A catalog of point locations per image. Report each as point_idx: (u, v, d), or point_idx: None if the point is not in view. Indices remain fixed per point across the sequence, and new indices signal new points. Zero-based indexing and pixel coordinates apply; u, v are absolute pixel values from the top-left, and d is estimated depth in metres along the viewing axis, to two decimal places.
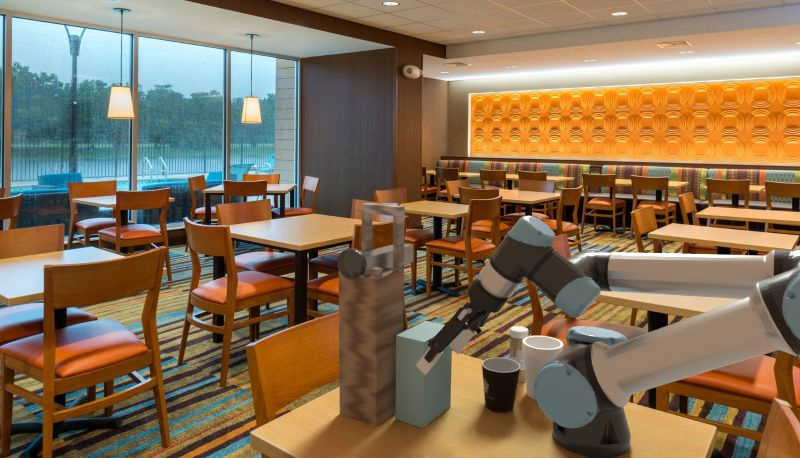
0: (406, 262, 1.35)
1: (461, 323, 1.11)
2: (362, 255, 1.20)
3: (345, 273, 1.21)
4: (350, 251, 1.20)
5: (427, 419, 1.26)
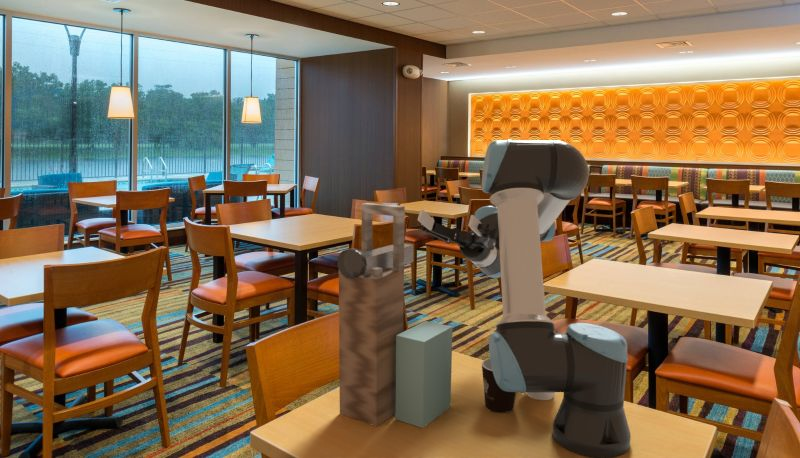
0: (406, 262, 1.35)
1: None
2: (362, 255, 1.20)
3: (345, 273, 1.21)
4: (350, 251, 1.20)
5: (427, 419, 1.26)
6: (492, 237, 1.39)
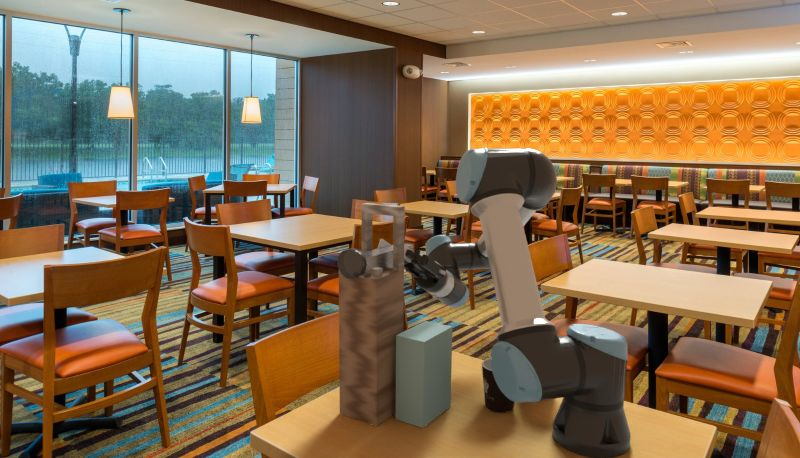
0: (406, 262, 1.35)
1: None
2: (362, 255, 1.20)
3: (345, 273, 1.21)
4: (350, 251, 1.20)
5: (427, 419, 1.26)
6: (421, 263, 1.34)
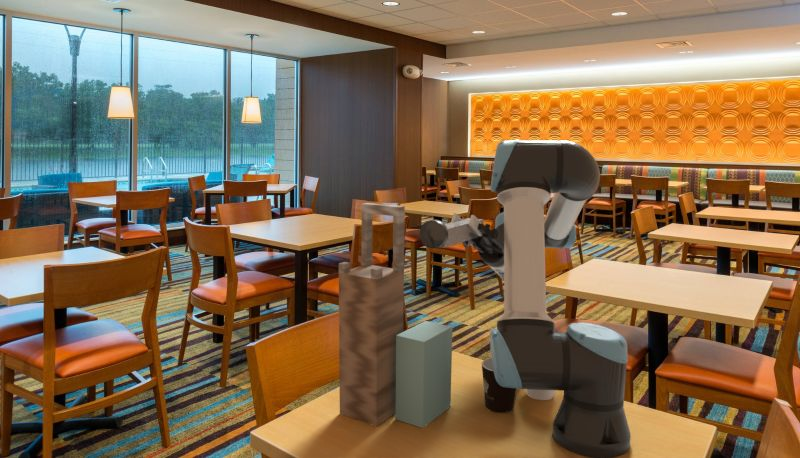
0: (477, 236, 1.41)
1: None
2: (444, 226, 1.27)
3: (427, 243, 1.28)
4: (433, 222, 1.26)
5: (427, 419, 1.26)
6: (491, 237, 1.41)
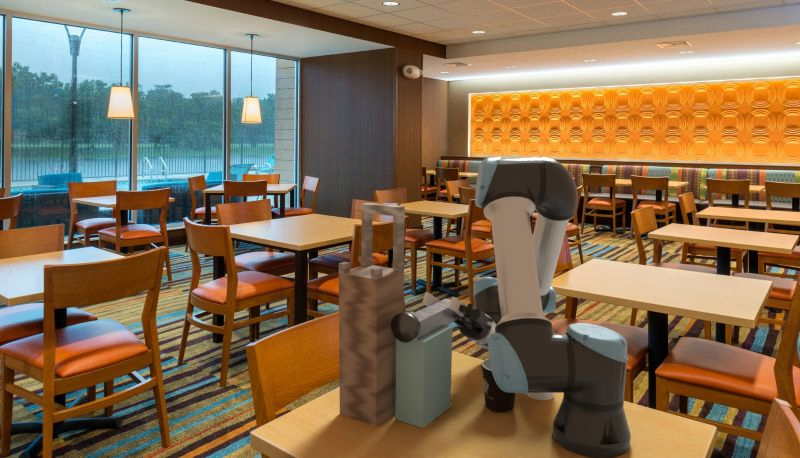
0: (454, 319, 1.35)
1: None
2: (416, 319, 1.21)
3: (399, 337, 1.22)
4: (404, 315, 1.20)
5: (427, 419, 1.26)
6: (474, 318, 1.34)
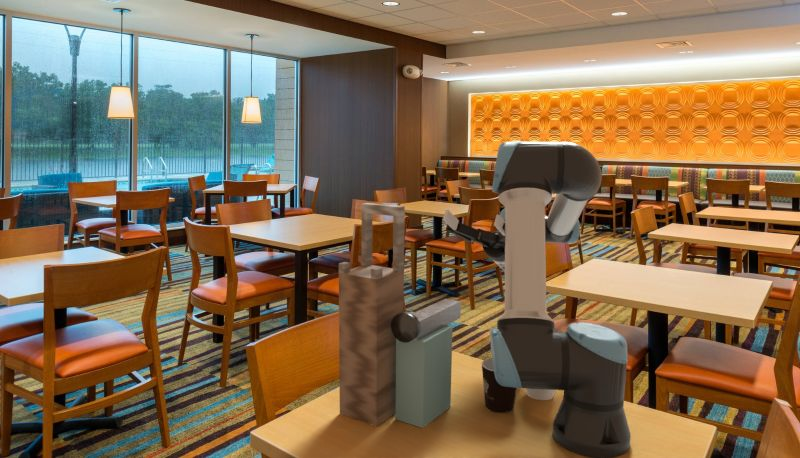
0: (454, 319, 1.35)
1: None
2: (416, 319, 1.21)
3: (399, 337, 1.22)
4: (404, 315, 1.20)
5: (427, 419, 1.26)
6: None
